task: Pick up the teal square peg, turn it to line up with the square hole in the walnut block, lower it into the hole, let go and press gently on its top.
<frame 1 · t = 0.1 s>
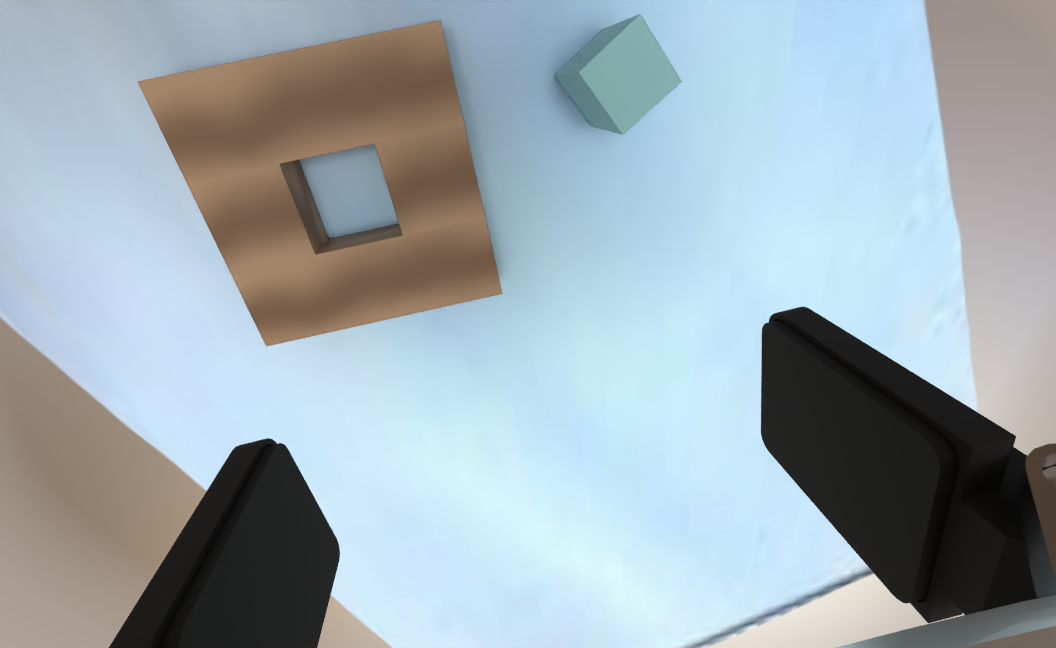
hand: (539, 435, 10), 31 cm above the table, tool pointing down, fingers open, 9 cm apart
peg: (596, 79, 36), on the table
socket block: (354, 190, 37), on the table
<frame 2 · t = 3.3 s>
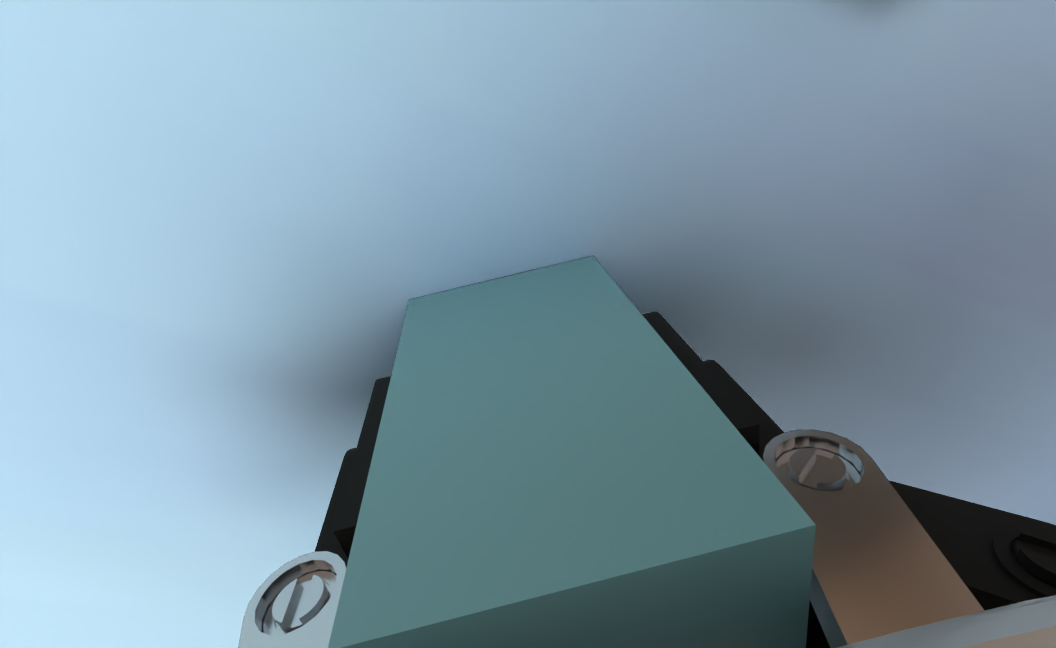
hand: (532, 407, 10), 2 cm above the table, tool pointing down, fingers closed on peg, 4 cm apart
peg: (521, 357, 12), on the table, touching gripper
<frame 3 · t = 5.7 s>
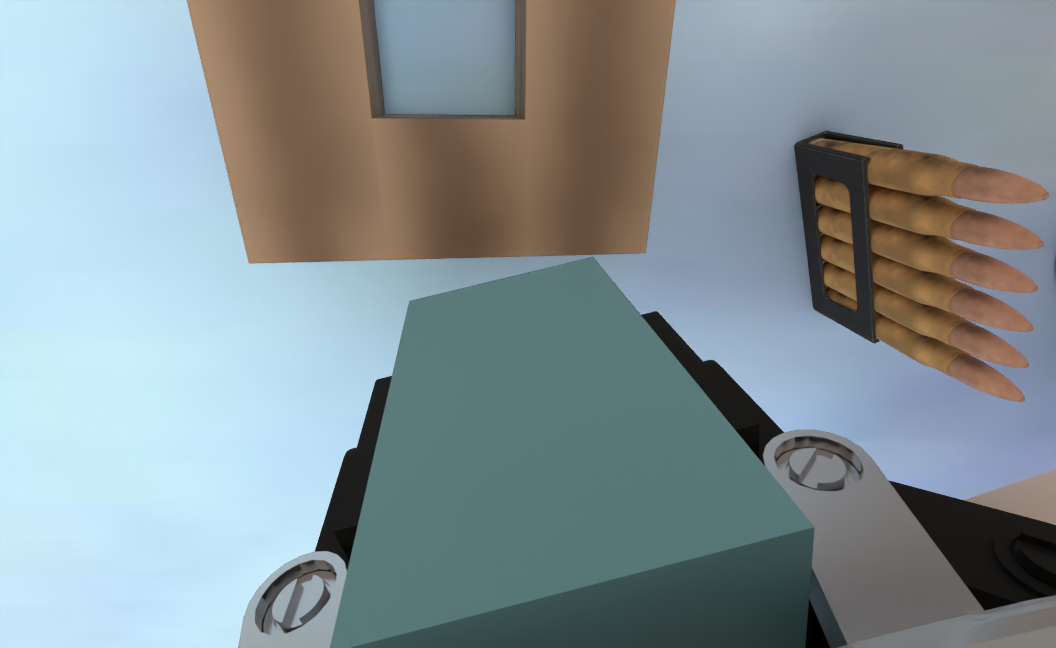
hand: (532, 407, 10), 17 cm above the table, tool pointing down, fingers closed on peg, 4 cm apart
peg: (521, 358, 12), point 15 cm above the table, touching gripper
socket block: (447, 40, 22), on the table
ammunition clip: (817, 226, 29), on the table
when the fingers open (5 cm above the table, at t = 8.5 s): peg drops 3 cm, resting in socket block.
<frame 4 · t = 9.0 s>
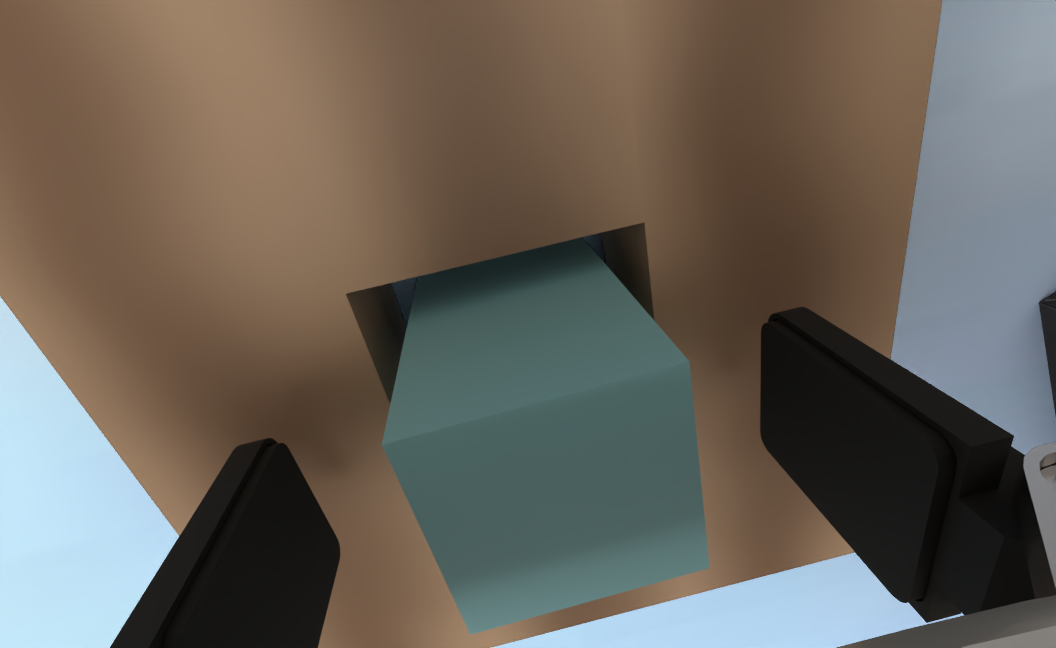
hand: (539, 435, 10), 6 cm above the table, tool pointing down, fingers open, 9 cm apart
peg: (514, 311, 15), resting in socket block
socket block: (510, 313, 15), on the table
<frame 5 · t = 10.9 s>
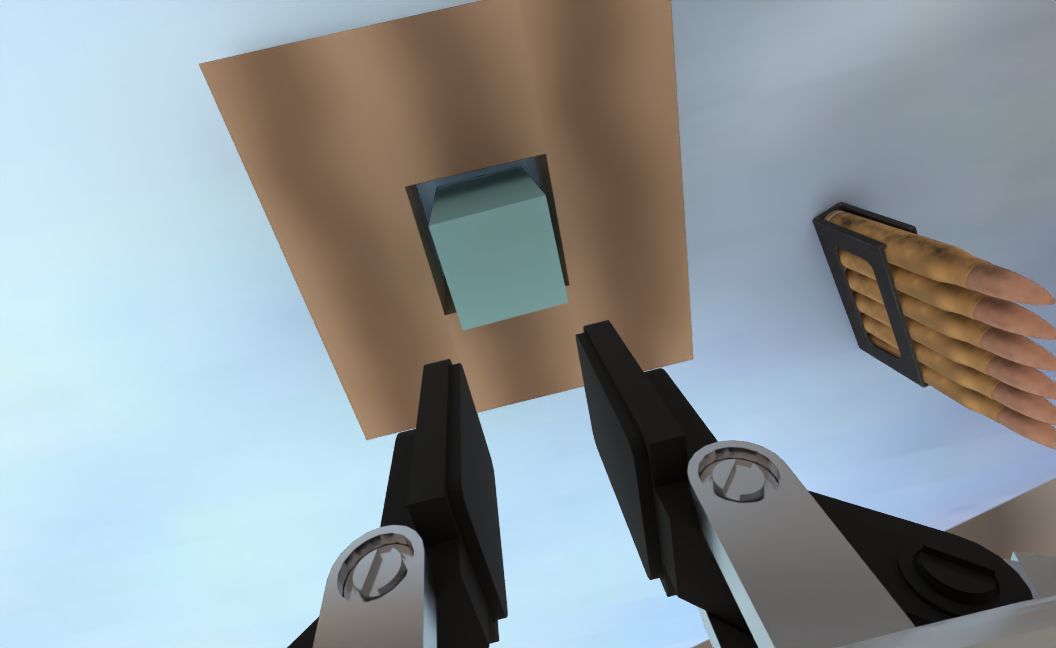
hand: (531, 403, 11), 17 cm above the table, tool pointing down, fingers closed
peg: (489, 218, 26), resting in socket block
socket block: (487, 218, 26), on the table
ammunition clip: (849, 279, 31), on the table
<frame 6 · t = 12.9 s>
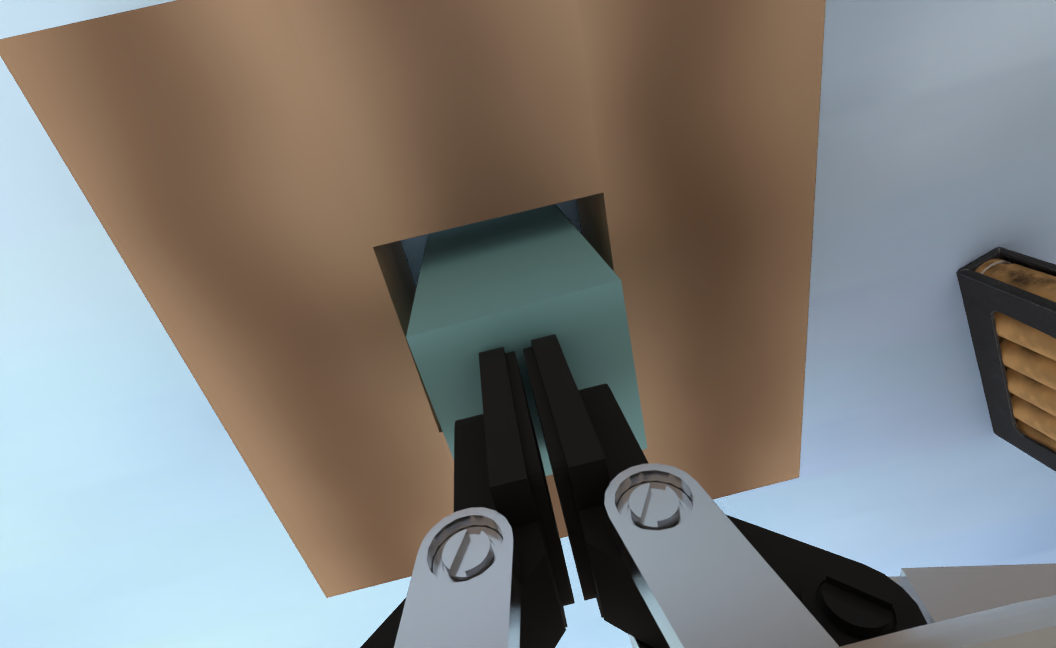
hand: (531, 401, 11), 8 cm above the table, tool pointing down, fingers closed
peg: (506, 275, 18), resting in socket block, touching gripper
socket block: (502, 276, 18), on the table
ammunition clip: (992, 348, 23), on the table
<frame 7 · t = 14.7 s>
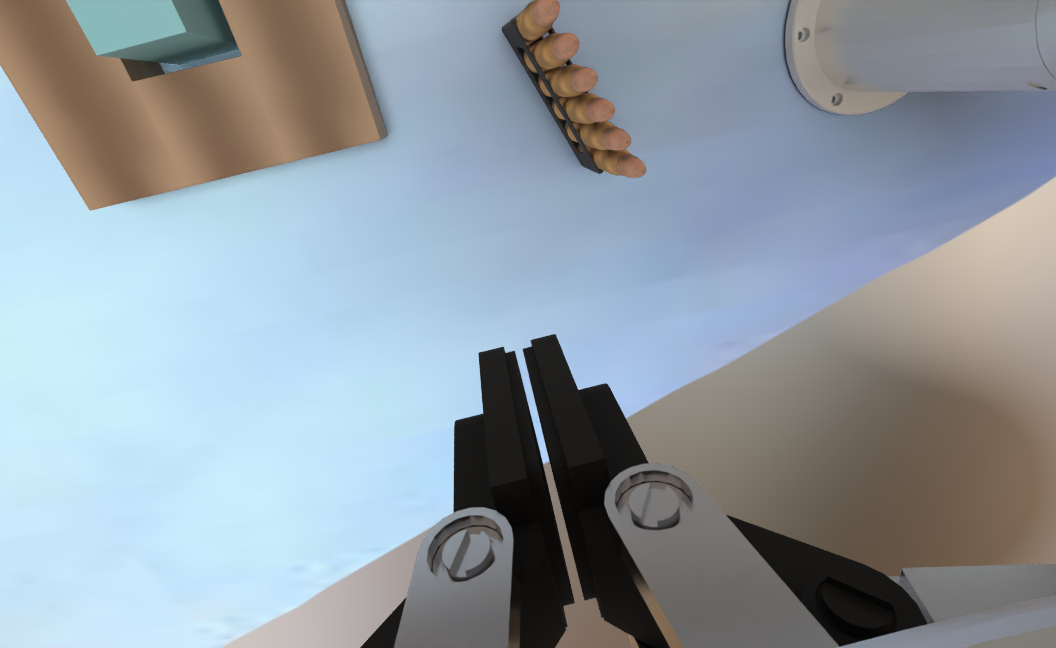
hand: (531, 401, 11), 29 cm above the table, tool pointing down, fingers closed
peg: (195, 15, 30), resting in socket block
socket block: (192, 15, 30), on the table
ammunition clip: (554, 94, 35), on the table
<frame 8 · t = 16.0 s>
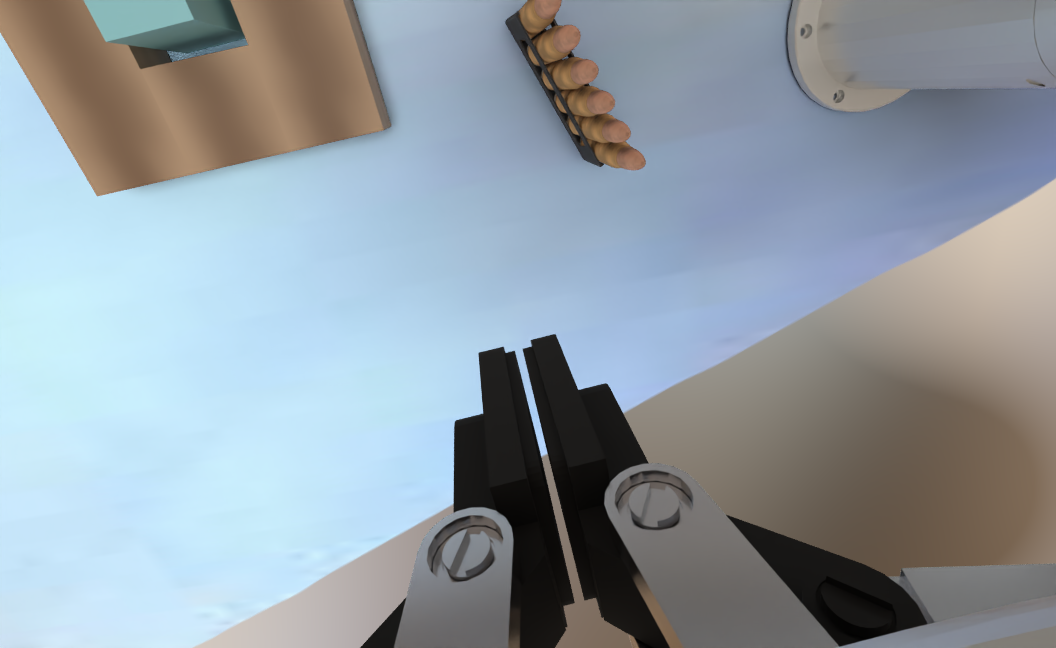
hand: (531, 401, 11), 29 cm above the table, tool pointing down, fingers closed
peg: (202, 4, 30), resting in socket block
socket block: (200, 4, 30), on the table
ammunition clip: (557, 87, 35), on the table
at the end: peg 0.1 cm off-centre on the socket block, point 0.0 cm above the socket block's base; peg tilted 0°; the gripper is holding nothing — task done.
